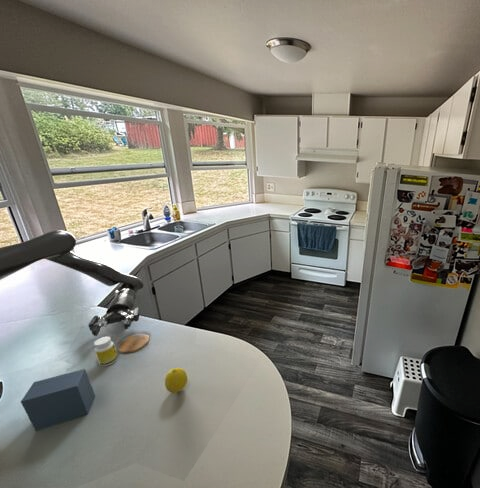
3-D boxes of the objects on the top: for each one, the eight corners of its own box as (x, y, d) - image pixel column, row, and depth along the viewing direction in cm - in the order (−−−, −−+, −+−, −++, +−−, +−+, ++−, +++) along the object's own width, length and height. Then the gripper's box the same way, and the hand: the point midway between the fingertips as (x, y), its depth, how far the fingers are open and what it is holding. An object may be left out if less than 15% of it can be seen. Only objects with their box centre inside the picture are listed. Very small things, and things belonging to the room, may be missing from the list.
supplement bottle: (120, 359, 84) (114, 339, 81) (103, 369, 80) (96, 348, 77) (114, 353, 86) (107, 333, 83) (96, 362, 82) (89, 342, 79)
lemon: (162, 396, 72) (157, 375, 69) (177, 380, 77) (173, 360, 74) (179, 401, 70) (174, 379, 68) (193, 384, 75) (189, 364, 73)
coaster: (115, 356, 85) (115, 354, 84) (121, 339, 92) (121, 338, 92) (147, 348, 89) (147, 346, 88) (150, 333, 96) (150, 331, 96)
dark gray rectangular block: (35, 431, 62) (20, 401, 58) (47, 410, 67) (33, 381, 63) (88, 414, 66) (76, 386, 63) (95, 395, 71) (85, 368, 68)
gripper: (96, 302, 97) (80, 326, 83) (140, 294, 103) (133, 316, 89) (101, 318, 99) (87, 345, 86) (144, 310, 105) (137, 333, 92)
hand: (110, 330), depth 87 cm, fingers open, 8 cm apart
